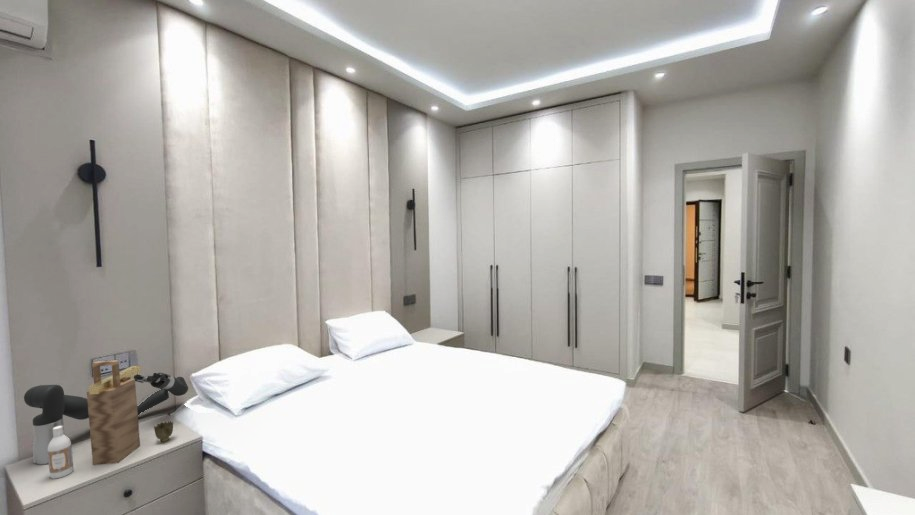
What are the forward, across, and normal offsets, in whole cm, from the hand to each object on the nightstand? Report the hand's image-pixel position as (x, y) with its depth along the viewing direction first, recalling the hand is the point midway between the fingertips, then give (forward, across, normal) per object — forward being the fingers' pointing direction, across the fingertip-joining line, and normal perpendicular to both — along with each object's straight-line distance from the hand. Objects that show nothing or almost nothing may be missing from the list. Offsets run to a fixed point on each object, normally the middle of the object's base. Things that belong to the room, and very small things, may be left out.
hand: (144, 375), depth 196 cm
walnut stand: (+4, 0, -36) cm, 36 cm away
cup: (-5, -14, -31) cm, 34 cm away
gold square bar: (+17, 0, -6) cm, 19 cm away
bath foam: (+14, +13, -42) cm, 46 cm away
